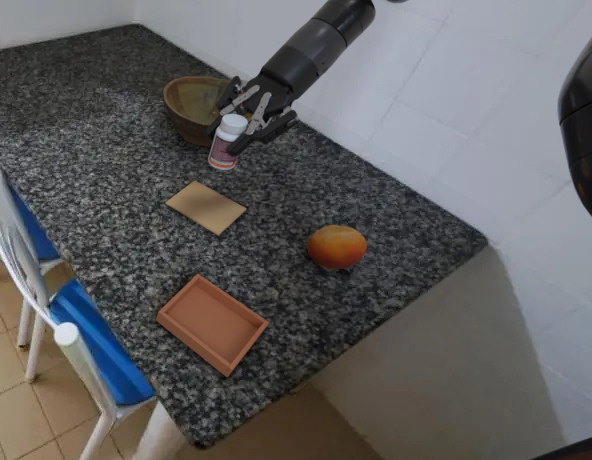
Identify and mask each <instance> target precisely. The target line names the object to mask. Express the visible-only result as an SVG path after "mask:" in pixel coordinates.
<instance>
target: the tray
mask: <svg viewBox="0 0 592 460" xmlns="http://www.w3.org/2000/svg"><path fill="white" fill-rule="evenodd" d="M155 321H156V323H158V324H159V325H161V326H162V327H163V328H164V329H165V330H167V331H168V332H170V333H171V334H172V335H173V336H175V337H176V338H177V339H178V340H179V341H181V343H183V344H184V345H186V346H187V347H188V348H189V349H191V350H192V351H193V352H194V353H196V354H197V355H198V356H200V357H201V358H202V359H203V360H205V361H206V362H207V363H208V364H209V365H211V366H212V367H213V368H214V369H216V371H218V372H220V373H221V374H222V375H223V376H224V377H226V378H229V376H230V375H231V374H232V372H233V371H234V370H235V368H236V367H237V366H238V364H239V363H240V362H241V361H242V360H243V358H244V357H245V356H246V354H247V353H248V352H249V350H250V349H251V348H252V346H253V345H254V344H255V343H256V342H257V340H258V339H259V337H260V336H261V335H262V334H263V333H264V331H265V330H266V328H267V327H268V325H269V324H270V322H269V321H268V320H267V319H265V318H263V317H262V316H261V315H259V314H258V313H256V312H255V311H254V310H252V309H250V308H249V307H247V306H246V305H245V304H243V303H241V302H240V301H239V300H237V299H236V298H234V297H233V296H231V295H230V294H229V293H227V292H226V291H225V290H223V289H221V288H220V287H219V286H217V285H216V284H214V283H213V282H211V281H209V280H208V279H206V277H203V275H201V274H199V273H196V275H194V277H193V278H191V279H190V280H189V281H188V282H187V283H186V284H185V285H184V286H183V287H182V288H181V289H180V290H179V291H178V292H177V293H176V294H175V295H174V296H173V297H172V298H171V299H170V300H168V302H167V303H166V304H165V305H164V306H162V307H161V308H160V310H158V312H157V316H156V318H155Z"/></svg>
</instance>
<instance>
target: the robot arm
mask: <svg viewBox="0 0 592 460" xmlns="http://www.w3.org/2000/svg"><path fill="white" fill-rule="evenodd" d="M385 1H386V2H388V3H391V4H396V5H397V4H399V5H400V4H403V3H407V2H409V1H410V0H385ZM376 16H377V9H376V7H375V4H374V2H373V0H326V1H325V3H324V4H322V6H321V7H320V8H319V9H318V10H317V11H316V12H315V13H314V15H312V17H310V18H309V20H307V21H306V22H305V24H303V25H302V26H301V27H299V29H297V30H296V31H295V32H294V33H293V34H292V35H291V36H290V37H289V38H288V39H287V40H286V41H285V42H284V44H282V45H281V47H280V48H279V49H278V50H276V52H275V53H274V54H273V55H272V56H271V57H270V58H269V59H268V60H267V62H265V63H264V65H263V66H262V67H261V69H260V70H259V72H258V74H257V75H256V76H254V77H253V78H251V79H249V80H244V79H241V77H240V76H239V75H235V76H233V77H232V78H231V79H230V80H231V82H230V83H229V85H228V86H227V88H226V89H225V91H224V93H223V94H222V96H221V97H220V99H219V100H218V102H217V104H216V107H217V108H218V110H219V113H220V114H219V116H218V117H217V118H216V119H215V120H214V121H213V122H212V123H211V124H210V126H209V127H208V128H207V130H206V133H205V134H206V136H207V137H208V138H209V139H210V140H213V139H214V136H215V132H216V129H217V128H218V127H219V126H220V124H221V121H222V118H223V116H224V115H227V114H237V115H241V116H243V115H245V114H247V113H250V114H253V116H252V121H251V122H250V123H249V124H248V126H247V127H248V128H246V130H245V132H246V133H245V134H244V133H242V134H241V135H240V136H239V137H238V138H237V139H236V140H235V141H234V142H233V143H232V144H231V145H230V146H229V147H228V148H227V150H226V152H227V153H228V154H229V155H230V156H231V157H235V156H238V155H239V156H240V155H241V154H242V153H243V152H245V150H246V149H247V148H248V147H249V146H250V145H252V143H254V142H259V143H261V144H262V145H267V144H269V143H271V142H272V141H274V140H276V138H278V137H280V136H282V135H283V134H285V133H286V132H288V131H289V130H290V129H292V128H294V127H296V126H298V124H300V123H301V120H300V116H299V115H298V113H297V111H296V110H295V109H292V106H293V103H294V102H295V101H297V100H299V99H300V98H301V97H302V96H303V95H305V93H306V92H307V91H308V90H309V89H310V88H311V87H312V86H313V85H314V84H315V83H316V82H317V81H318V80H319V79H320V78H321V77H322V76H323V75H324V74H326V73H327V72H328V70H329V69H330V68H331V67H333V65H335V64H336V62H337V61H338V59H339V58H340V57H341V56H342V55H343V54H344V52H345V51H346V50H347V49H348V48H349V47H350V46H351V45H352V44H353V43H354V42H355V41H356V40H357V39H358V38H359V37H360V36H361V35H362V34H363V33H364V32H365V31H366V30H368V28H369V27H370V26H371V25H372V24H373V23H374V21H375V19H376ZM244 90H245V92H244V94H242V92H243V91H244ZM239 94H242V95H241V96H239V97H238V95H239ZM237 97H238V98H237ZM241 104H242V106H243V107H240V106H241ZM556 104H557V105H556V106H557V107H556V114H557V120H558V125H559V131H560V134H561V139H562V144H563V149H564V153H565V154H564V155H565V159H566V163H567V169H568V172H569V176H570V179H571V183H572V185H573V189H574V191H575V194H576V195H577V198H578V199H579V200H578V201H580V203H581V205H582V207H583V208H584V209H585V210H586V212H587V213H588V214H589V216H590V217H591V218H592V36H590V39H589V40H588V41H587V43H586V44H585V45H584V46H583V48H582V49H581V51H580V52H579V54H578V55H577V56H576V59H575V60H574V62H573V64H572V65H571V67H570V68H569V69H568V72H567V74H566V75H565V77H564V79H563V82H562V84H561V86H560V90H559V94H558V97H557V103H556ZM276 116H279V117H278V118H277V119H275V120H274V121H272V122H271V120H272V118H273V117H276ZM239 156H238V157H239ZM528 460H592V436H589V437H587V438H585V439H582V440H578V441H575V442H573V443H570V444H567V445H564V446H562V447H559V448H556V449H554V450H551V451H548V452H545V453H543V454H540V455H538V456H535V457H532V458H529V459H528Z"/></svg>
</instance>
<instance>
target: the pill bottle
mask: <svg viewBox="0 0 592 460" xmlns="http://www.w3.org/2000/svg"><path fill="white" fill-rule="evenodd" d="M248 125H249V124H248V121H247V119H246V118H245V117H243V116H241V115H237V114H227V115H224V116H223V118H222V121H221V124H220V126H219V127H218V128H217V129H216V132H215V136H214V139H213V143H212V145H210V146H211V147H210V150H209V154H208V156H207V162H208V164H209V165H210V166H211V167H212V168H214V169H216V170H222V171H228V170H232V169H233V168H235V166H236V164H237V162H238V159H239V156H240V155H238V156H235V157H231V156H230V155H229V154H228V153H227V152H226V150H227V148H228V147H229V146H230V145H231V144H232V143H233V142H234V141H235V140H236V139H237V138H238V137H239V136H240V135H241V134H242V133H244V134H245V133H246V131H247V127H248Z"/></svg>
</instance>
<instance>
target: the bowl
mask: <svg viewBox="0 0 592 460" xmlns="http://www.w3.org/2000/svg"><path fill="white" fill-rule="evenodd" d="M231 80H232V79H225V78H217V77H213V76H206V75H205V76H204V75H201V76H191V75H188V76H181V77H177V78H174V79H172V80H171V81H169V82H168V83H167V84H166V85H165V86H164V87H163V90H162V99H163V104H164V107H165V110H166V112H167V115H168V117H169V119H170V121H171V123H172V125H173V126H174V128H175V129H176V131H177V132H178V133H179V135H180V137H181V138H182V139H183V140H184V141H186V142H187V143H190V144H192V145H195V146H199V147H203V146H204V147H208V146H212V143H213V140H210V139H209V138H208V137H207V136H206V134H205V133H206V130H207V128H208V127H209V126H210V124H211V123H212V122H213V121H214V120H215V119H216V118H217V117H218V116H219V114H220V113H219V110H218V108H217V107H216V104H217V102H218V100H219V99H220V97H221V96H222V94H223V93H224V91H225V89H226V88H227V86H228V85H229V83H230V82H231ZM244 92H245V90H244V91H243V92H242V94H244ZM242 94H239V95H238V97H239V96H241V95H242ZM238 97H237V98H238ZM240 107H243V106H242V104H241V106H240ZM252 116H253V114H250V113H247V114H245V115H243V117H245V118H246V119H247V121H248V124H247V125H250V123H251V121H252Z"/></svg>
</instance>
